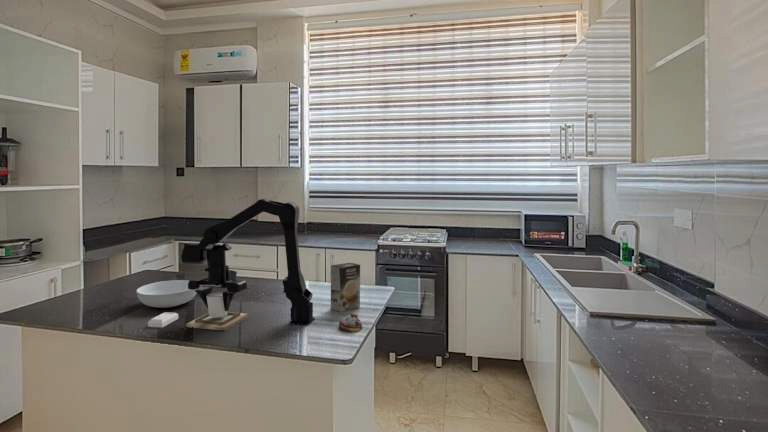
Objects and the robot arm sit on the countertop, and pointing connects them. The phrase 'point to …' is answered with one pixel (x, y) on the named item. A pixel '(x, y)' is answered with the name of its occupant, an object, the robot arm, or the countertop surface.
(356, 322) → the pastry
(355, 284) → the coffee box
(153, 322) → the soap bar
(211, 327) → the board
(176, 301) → the serving bowl
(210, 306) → the white tapered cylinder
